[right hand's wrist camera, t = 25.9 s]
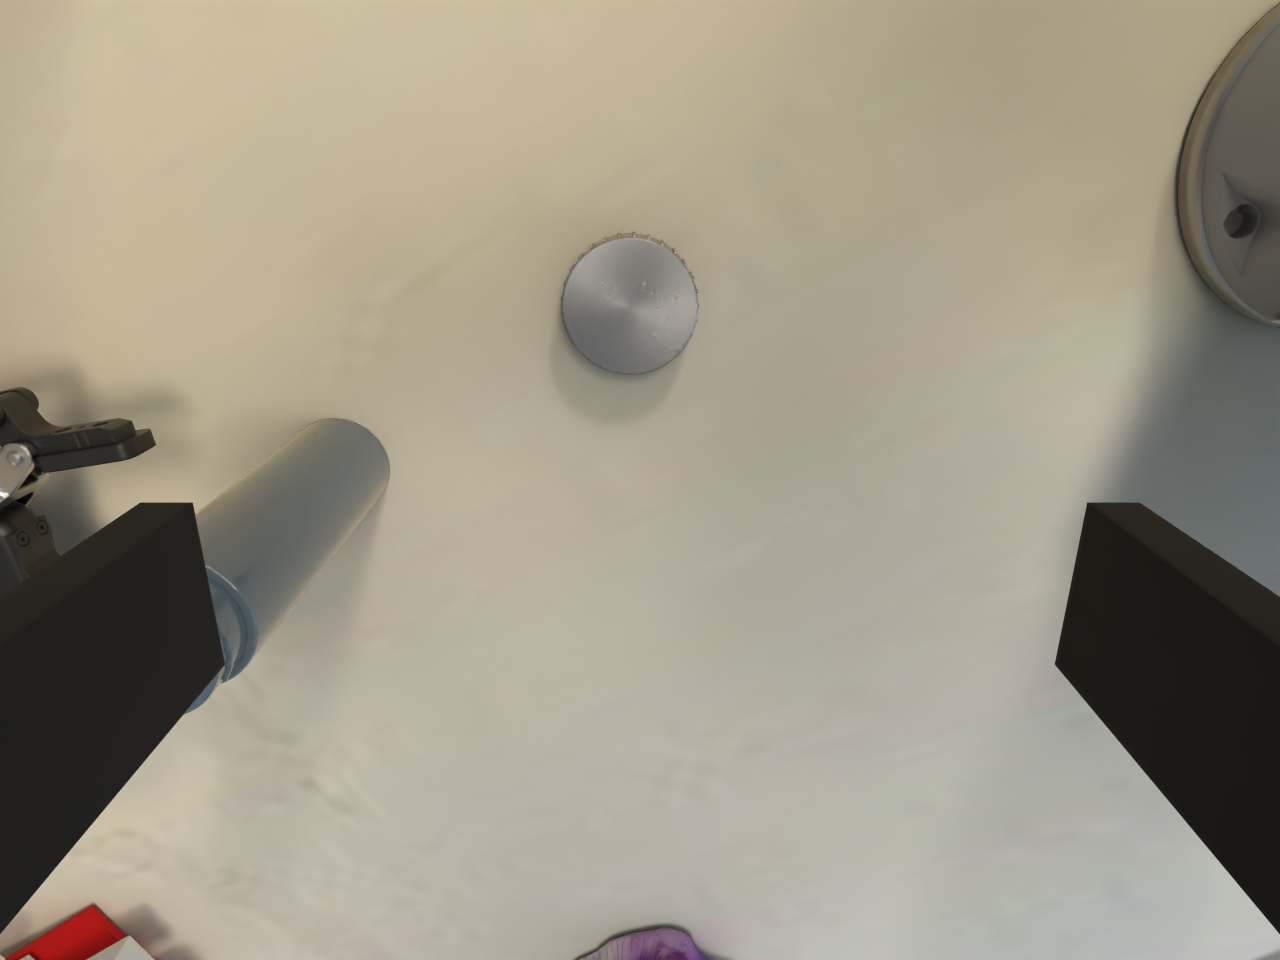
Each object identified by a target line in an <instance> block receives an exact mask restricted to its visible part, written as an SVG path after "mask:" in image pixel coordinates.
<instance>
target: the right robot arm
mask: <svg viewBox="0 0 1280 960" xmlns="http://www.w3.org/2000/svg"><path fill="white" fill-rule="evenodd" d="M1178 205H1179V216H1180V223H1181V229H1182V233H1183V237H1184V240H1185V244H1186V247H1187V249H1188V252H1189V254H1190V257H1191V259H1192V261H1193V263H1194V265H1195V267H1196V269H1197V271H1198V272H1199V274H1200V275H1201V276H1202V278H1203V279H1204V281H1205V282H1206V284H1207V285H1208V286H1209V287H1210V288H1211V289H1212V290H1213V291H1214V293H1215V294H1216V295H1217V296H1219V297H1220V298H1221V299H1222V300H1223V301H1224V302H1225V303H1227V304H1228V305H1229V306H1231V307H1232V308H1234V309H1235V310H1237V311H1238V312H1240V313H1242V314H1244V315H1246V316H1248V317H1250V318H1252V319H1254V320H1257V321H1260V322H1262V323H1265V324H1269V325H1273V326H1276V327H1280V3H1279V4H1278V5H1277V6H1275V7H1274V8H1273V9H1272V10H1271V11H1270V12H1268V13H1267V14H1266V15H1265V16H1264V17H1263V18H1262V19H1261V20H1260V21H1259V22H1258V23H1257V24H1256V25H1255V26H1254V27H1253V28H1252V29H1251V30H1250V31H1249V32H1248V33H1247V34H1246V35H1245V36H1244V37H1243V38H1242V40H1241V41H1240V42H1239V43H1238V44H1237V45H1236V47H1235V48H1234V49H1233V50H1232V52H1231V53H1230V54H1229V56H1228V57H1227V58H1226V60H1225V61H1224V63H1223V64H1222V65H1221V67H1220V68H1219V70H1218V72H1217V73H1216V75H1215V76H1214V78H1213V80H1212V81H1211V83H1210V84H1209V86H1208V88H1207V90H1206V92H1205V94H1204V96H1203V98H1202V100H1201V102H1200V104H1199V106H1198V109H1197V111H1196V113H1195V116H1194V118H1193V120H1192V123H1191V126H1190V129H1189V132H1188V135H1187V138H1186V142H1185V146H1184V151H1183V155H1182V159H1181V166H1180V173H1179V186H1178ZM224 665H225V661H224V656H223V651H222V646H221V641H220V636H219V631H218V627H217V622H216V617H215V612H214V607H213V602H212V597H211V592H210V587H209V582H208V577H207V572H206V567H205V562H204V557H203V552H202V547H201V542H200V537H199V532H198V527H197V522H196V517H195V512H194V507H193V503H139V504H138V505H136V506H135V507H133V508H132V509H130V510H129V511H127V512H126V513H124V514H123V515H121V516H120V517H118V518H117V519H115V520H114V521H112V522H111V523H110V524H108V525H107V526H105V527H104V528H102V529H101V530H99V531H98V532H96V533H95V534H93V535H92V536H90V537H89V538H87V539H86V540H84V541H83V542H81V543H80V544H78V545H77V546H75V547H74V548H72V549H71V550H69V551H68V552H66V553H65V554H63V555H62V556H60V557H59V558H57V559H56V560H54V561H53V562H51V563H50V564H49V565H47V566H46V567H44V568H43V569H41V570H40V571H38V572H37V573H35V574H34V575H32V576H31V577H29V578H28V579H26V580H25V581H23V582H22V583H20V584H19V585H17V586H16V587H14V588H13V589H11V590H10V591H8V592H7V593H5V594H4V595H2V596H1V597H0V934H1V932H2V931H3V930H4V929H5V928H6V926H7V925H8V924H9V923H10V922H11V920H12V919H13V918H14V917H15V916H16V915H17V913H18V912H19V911H20V910H21V909H22V907H23V906H24V905H25V904H26V903H27V901H28V900H29V899H30V898H31V897H32V895H33V894H34V893H35V892H36V891H37V889H38V888H39V887H40V886H41V885H42V883H43V882H44V881H45V880H46V879H47V877H48V876H49V875H50V874H51V873H52V871H53V870H54V869H55V868H56V867H57V865H58V864H59V863H60V862H61V861H62V859H63V858H64V857H65V856H66V855H67V853H68V852H69V851H70V850H71V849H72V847H73V846H74V845H75V844H76V843H77V841H78V840H79V839H80V838H81V837H82V835H83V834H84V833H85V832H86V831H87V829H88V828H89V827H90V826H91V825H92V823H93V822H94V821H95V820H96V819H97V817H98V816H99V815H100V814H101V813H102V811H103V810H104V809H105V808H106V807H107V805H108V804H109V803H110V802H111V801H112V799H113V798H114V797H115V796H116V795H117V793H118V792H119V791H120V790H121V789H122V787H123V786H124V785H125V784H126V783H127V781H128V780H129V779H130V778H131V777H132V775H133V774H134V773H135V772H136V771H137V769H138V768H139V767H140V766H141V765H142V763H143V762H144V761H145V760H146V759H147V757H148V756H149V755H150V754H151V753H152V751H153V750H154V749H155V748H156V747H157V745H158V744H159V743H160V742H161V741H162V739H163V738H164V737H165V736H166V735H167V733H168V732H169V731H170V730H171V729H172V727H173V726H174V725H175V724H176V723H177V721H178V720H179V719H180V718H181V717H182V715H183V714H184V713H185V712H186V711H187V709H188V708H189V707H190V706H191V705H192V703H193V702H194V701H195V700H196V699H197V697H198V696H199V695H200V694H201V693H202V691H203V690H204V689H205V688H206V687H207V685H208V684H209V683H210V682H211V681H212V679H213V678H214V677H215V676H216V675H217V674H218V672H219V671H220V670H221V669H222V668H223V666H224ZM1055 665H1056V666H1057V668H1058V669H1059V670H1060V671H1061V672H1062V674H1063V675H1064V676H1065V677H1066V678H1067V679H1068V681H1069V682H1070V683H1071V684H1072V685H1073V687H1074V688H1075V689H1076V690H1077V691H1078V693H1079V694H1080V695H1081V696H1082V697H1083V699H1084V700H1085V701H1086V702H1087V703H1088V705H1089V706H1090V707H1091V708H1092V709H1093V711H1094V712H1095V713H1096V714H1097V715H1098V717H1099V718H1100V719H1101V720H1102V721H1103V723H1104V724H1105V725H1106V726H1107V727H1108V729H1109V730H1110V731H1111V732H1112V733H1113V735H1114V736H1115V737H1116V738H1117V739H1118V741H1119V742H1120V743H1121V744H1122V745H1123V747H1124V748H1125V749H1126V750H1127V751H1128V753H1129V754H1130V755H1131V756H1132V757H1133V759H1134V760H1135V761H1136V762H1137V763H1138V765H1139V766H1140V767H1141V768H1142V769H1143V771H1144V772H1145V773H1146V774H1147V775H1148V777H1149V778H1150V779H1151V780H1152V781H1153V783H1154V784H1155V785H1156V786H1157V787H1158V789H1159V790H1160V791H1161V792H1162V793H1163V795H1164V796H1165V797H1166V798H1167V799H1168V801H1169V802H1170V803H1171V804H1172V805H1173V807H1174V808H1175V809H1176V810H1177V811H1178V813H1179V814H1180V815H1181V816H1182V817H1183V819H1184V820H1185V821H1186V822H1187V823H1188V825H1189V826H1190V827H1191V828H1192V829H1193V831H1194V832H1195V833H1196V834H1197V835H1198V837H1199V838H1200V839H1201V840H1202V841H1203V843H1204V844H1205V845H1206V846H1207V847H1208V849H1209V850H1210V851H1211V852H1212V853H1213V855H1214V856H1215V857H1216V858H1217V859H1218V861H1219V862H1220V863H1221V864H1222V865H1223V867H1224V868H1225V869H1226V870H1227V871H1228V873H1229V874H1230V875H1231V876H1232V877H1233V879H1234V880H1235V881H1236V882H1237V883H1238V885H1239V886H1240V887H1241V888H1242V889H1243V891H1244V892H1245V893H1246V894H1247V895H1248V897H1249V898H1250V899H1251V900H1252V901H1253V903H1254V904H1255V905H1256V906H1257V907H1258V909H1259V910H1260V911H1261V912H1262V913H1263V915H1264V916H1265V917H1266V918H1267V919H1268V920H1269V922H1270V923H1271V924H1272V925H1273V926H1274V928H1275V929H1276V930H1277V931H1278V932H1279V934H1280V597H1279V596H1278V595H1276V594H1275V593H1273V592H1272V591H1270V590H1269V589H1267V588H1266V587H1264V586H1263V585H1261V584H1260V583H1258V582H1257V581H1255V580H1254V579H1252V578H1251V577H1249V576H1248V575H1246V574H1245V573H1243V572H1242V571H1240V570H1239V569H1237V568H1236V567H1234V566H1233V565H1231V564H1230V563H1229V562H1227V561H1226V560H1224V559H1223V558H1221V557H1220V556H1218V555H1217V554H1215V553H1214V552H1212V551H1211V550H1209V549H1208V548H1206V547H1205V546H1203V545H1202V544H1200V543H1199V542H1197V541H1196V540H1194V539H1193V538H1191V537H1190V536H1188V535H1187V534H1185V533H1184V532H1182V531H1181V530H1179V529H1178V528H1176V527H1175V526H1173V525H1172V524H1170V523H1169V522H1168V521H1166V520H1165V519H1163V518H1162V517H1160V516H1159V515H1157V514H1156V513H1154V512H1153V511H1151V510H1150V509H1148V508H1147V507H1145V506H1144V505H1142V504H1141V503H1087V507H1086V512H1085V517H1084V522H1083V527H1082V532H1081V537H1080V542H1079V547H1078V552H1077V557H1076V562H1075V567H1074V572H1073V577H1072V582H1071V587H1070V592H1069V597H1068V602H1067V607H1066V612H1065V617H1064V622H1063V627H1062V631H1061V636H1060V641H1059V646H1058V651H1057V656H1056V661H1055Z"/></svg>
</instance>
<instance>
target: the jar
mask: <svg viewBox="0 0 1280 960" xmlns="http://www.w3.org/2000/svg"><path fill="white" fill-rule="evenodd" d="M388 480H389V462H388V458H387V455H386V453H385V450H384V449H383V447H382V445H381V444H380V442H379V441H378V440H377V438H376V437H375V436H374V435H373V434H372V433H370V432H369V431H368V430H367V429H365V428H364V427H362V426H360V425H358V424H356V423H353V422H351V421H347V420H343V419H324V420H320V421H317V422H315V423H312V424H310V425H309V426H307V427H306V428H304V429H303V430H302V431H301V432H299V433H298V434H297V435H295V436H294V437H293V438H292V439H290V440H289V441H288V442H287V443H285V444H284V445H283V446H281V447H280V448H279V449H278V450H276V451H275V452H274V453H272V454H271V455H270V456H269V457H267V458H266V459H265V460H263V461H262V462H261V463H260V464H258V465H257V466H256V467H254V468H253V469H252V470H251V471H249V472H248V473H247V474H245V475H244V476H243V477H242V478H240V479H239V480H238V481H236V482H235V483H234V484H233V485H231V486H230V487H229V488H227V489H226V490H225V491H224V492H222V493H221V494H220V495H219V496H217V497H216V498H215V499H213V500H212V501H211V502H210V503H208V504H207V505H206V506H204V507H203V508H202V509H201V510H199V511H198V512H197V513H195V517H196V522H197V527H198V532H199V537H200V542H201V547H202V552H203V557H204V562H205V567H206V572H207V577H208V582H209V587H210V592H211V597H212V602H213V607H214V612H215V617H216V622H217V627H218V631H219V636H220V641H221V646H222V651H223V656H224V661H225V665H224V666H223V668H222V669H221V670H220V671H219V672H218V674H217V675H216V676H215V677H214V678H213V679H212V681H211V682H210V683H209V684H208V685H207V687H206V688H205V689H204V690H203V691H202V693H201V694H200V695H199V696H198V697H197V699H196V700H195V701H194V702H193V703H192V705H191V706H190V707H189V708H188V709H187V711H186V712H185V713H184V714H186V713H188V712H191V711H193V710H194V709H196V708H198V707H199V706H201V705H202V704H203V703H204V702H205V701H206V700H207V699H208V698H209V697H210V696H211V694H212V693H213V692H214V691H215V689H216V688H217V687H218V686H219V685H220V684H221V683H224V682H226V681H228V680H230V679H232V678H234V677H235V676H237V675H238V674H239V673H241V672H242V671H243V670H244V669H245V668H246V667H247V665H248V664H249V663H250V661H251V660H252V659H253V658H254V656H255V655H256V654H257V653H258V651H259V650H260V649H261V648H262V646H263V645H264V644H265V642H266V641H267V640H268V639H269V637H270V636H271V635H272V634H273V632H274V631H275V630H276V628H277V627H278V626H279V625H280V623H281V622H282V621H283V620H284V618H285V617H286V616H287V615H288V613H289V612H290V611H291V609H292V608H293V607H294V606H295V604H296V603H297V602H298V601H299V599H300V598H301V597H302V595H303V594H304V593H305V592H306V590H307V589H308V588H309V587H310V585H311V584H312V583H313V581H314V580H315V579H316V578H317V576H318V575H319V574H320V573H321V571H322V570H323V569H324V568H325V566H326V565H327V564H328V562H329V561H330V560H331V559H332V557H333V556H334V555H335V554H336V552H337V551H338V550H339V548H340V547H341V546H342V545H343V543H344V542H345V541H346V540H347V538H348V537H349V536H350V535H351V533H352V532H353V531H354V529H355V528H356V527H357V526H358V524H359V523H360V522H361V521H362V519H363V518H364V517H365V515H366V514H367V513H368V512H369V510H370V509H371V508H372V507H373V505H374V504H375V503H376V502H377V500H378V499H379V498H380V496H381V495H382V494H383V492H384V490H385V488H386V486H387V483H388Z"/></svg>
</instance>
